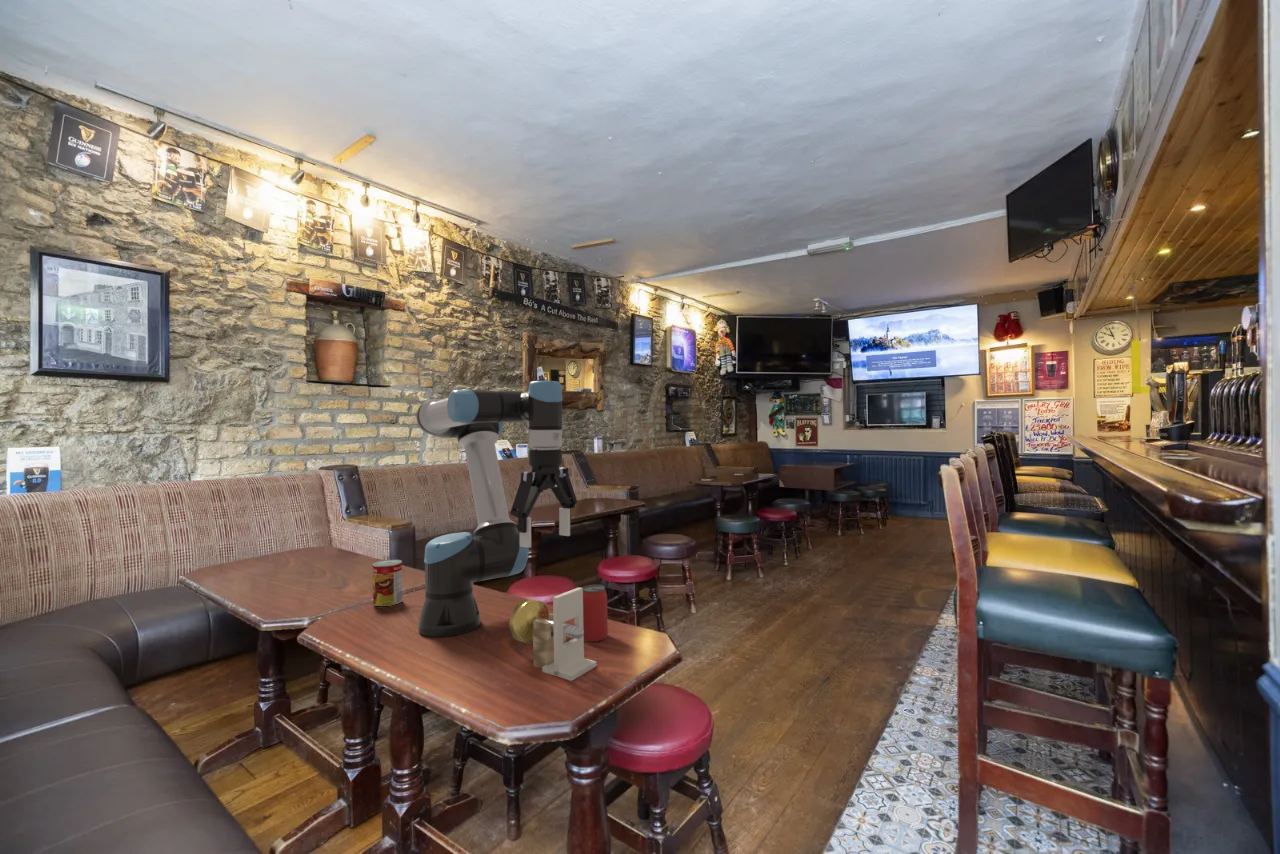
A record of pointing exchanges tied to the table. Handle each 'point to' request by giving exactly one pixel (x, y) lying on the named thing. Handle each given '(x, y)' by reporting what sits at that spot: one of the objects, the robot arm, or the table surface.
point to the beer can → (595, 613)
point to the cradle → (543, 643)
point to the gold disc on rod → (531, 611)
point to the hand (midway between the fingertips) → (545, 541)
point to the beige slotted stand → (571, 653)
